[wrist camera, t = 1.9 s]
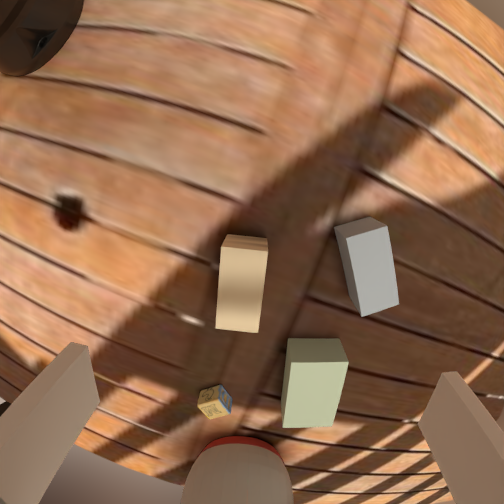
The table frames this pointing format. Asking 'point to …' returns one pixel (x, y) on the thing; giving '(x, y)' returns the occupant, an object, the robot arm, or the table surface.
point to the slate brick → (368, 264)
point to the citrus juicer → (238, 474)
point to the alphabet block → (215, 402)
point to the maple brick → (241, 283)
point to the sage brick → (312, 382)
